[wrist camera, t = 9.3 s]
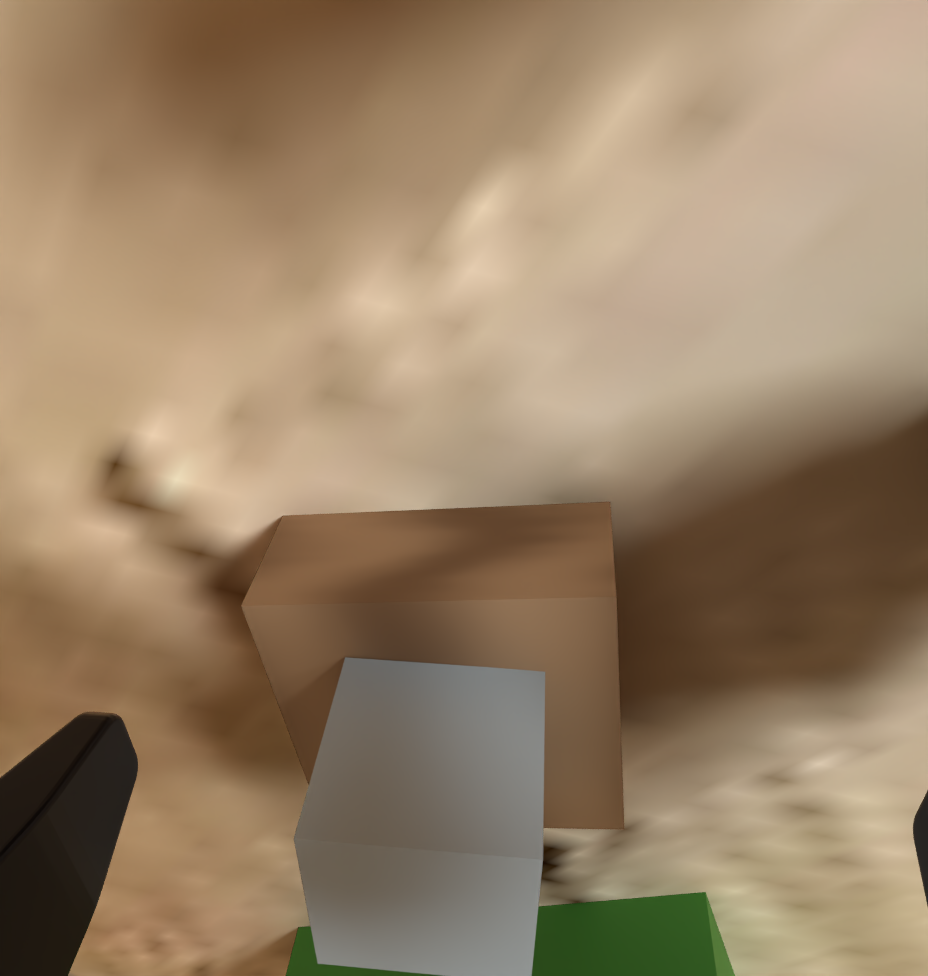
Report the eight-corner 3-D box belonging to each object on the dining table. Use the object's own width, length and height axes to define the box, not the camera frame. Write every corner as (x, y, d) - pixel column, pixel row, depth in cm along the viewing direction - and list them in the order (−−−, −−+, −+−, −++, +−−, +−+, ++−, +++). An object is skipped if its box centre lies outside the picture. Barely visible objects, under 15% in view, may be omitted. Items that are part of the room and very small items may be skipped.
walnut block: (609, 493, 22) (616, 597, 19) (617, 717, 27) (624, 829, 24) (286, 508, 24) (240, 605, 20) (351, 718, 29) (323, 823, 25)
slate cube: (545, 671, 20) (543, 859, 16) (535, 796, 23) (530, 983, 19) (345, 657, 21) (293, 838, 17) (358, 782, 24) (317, 963, 20)
